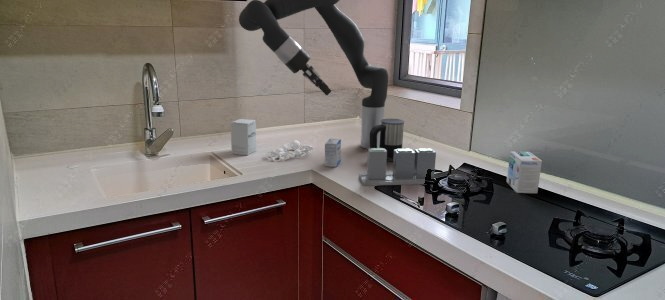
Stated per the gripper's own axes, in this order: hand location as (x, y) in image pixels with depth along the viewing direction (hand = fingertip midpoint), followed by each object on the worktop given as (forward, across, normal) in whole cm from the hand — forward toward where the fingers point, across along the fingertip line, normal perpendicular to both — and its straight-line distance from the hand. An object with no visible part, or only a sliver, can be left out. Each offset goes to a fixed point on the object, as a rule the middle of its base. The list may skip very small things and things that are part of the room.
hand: (327, 91), depth 154 cm
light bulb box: (+64, -16, -23) cm, 70 cm away
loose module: (+30, -7, +8) cm, 32 cm away
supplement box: (0, +30, +41) cm, 51 cm away
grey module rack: (+36, -7, +4) cm, 37 cm away
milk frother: (+39, +15, +2) cm, 42 cm away
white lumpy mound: (+13, +25, +29) cm, 40 cm away
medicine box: (+23, +13, +18) cm, 32 cm away
